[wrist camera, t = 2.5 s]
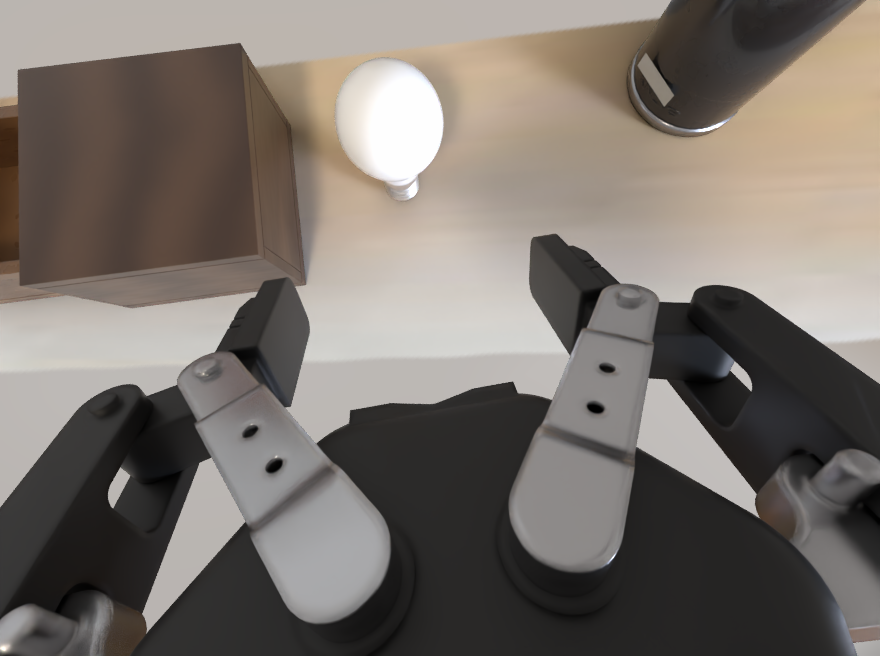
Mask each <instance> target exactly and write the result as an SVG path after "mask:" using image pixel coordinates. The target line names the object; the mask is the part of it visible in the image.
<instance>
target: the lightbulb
mask: <svg viewBox="0 0 880 656" xmlns="http://www.w3.org/2000/svg"><path fill="white" fill-rule="evenodd" d="M334 118H335V127H336V132H337V136H338V139H339V142H340V144H341V146H342V148H343V150H344V152H345V154H346V155H347V156H348V158H349V159H350V160H351V162H352V163H353V164H354V165H355V166H356V167H357V168H358V169H360V170H361V171H362V172H364V173H365V174H367V175H369V176H371V177H373V178H375V179H378V180H382V181H383V182H384V185H385V188H386V191H387V193H388V194H389V196H390V197H392V198H393V199H395V200H398V201H406V200H409V199H411V198H412V197H414V196H415V195H416V193H417V191H418V189H419V179H418V174H419V173H421V172H422V171H423V170H424V169H425V168H426V167H427V166H428V165H429V164H430V163H431V162H432V160H433V159H434V157H435V155H436V153H437V151H438V149H439V147H440V144H441V140H442V135H443V112H442V107H441V104H440V100H439V98H438V95H437V93H436V91H435V89H434V87H433V86H432V84H431V83H430V81H429V80H428V79H427V78H426V76H425V75H424V74H423V73H422V72H421V71H419V70H418V69H417V68H416V67H414V66H413V65H411V64H409V63H407V62H405V61H403V60H400V59H396V58H389V57H381V58H375V59H371V60H368V61H366V62H364V63H362V64H360V65H359V66H357V67H356V68H355V69H354V70H353V71H351V73H350V74H349V75H348V76H347V77H346V79H345V80H344V82H343V83H342V85H341V87H340V89H339V92H338V95H337V98H336V103H335V112H334Z"/></svg>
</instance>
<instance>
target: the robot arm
mask: <svg viewBox="0 0 880 656" xmlns="http://www.w3.org/2000/svg"><path fill="white" fill-rule="evenodd" d="M865 1H866V0H672V1H671V2H670V4H669V5H668V7H667V9H666V10H665V11H664V13H663V14H662V16H661V18H660V19H659V21H658V22H657V24H656V26H655V27H654V29H653V30H652V32H651V34H650V35H649V37H648V38H647V40H646V41H645V42H644V43H643V44H642V46H641V47H640V49H639V50H638V52H637V53H636V55H635V57H634V58H633V60H632V62H631V65H630V67H629V71H628V79H627V83H628V91H629V95H630V98H631V101H632V103H633V105H634V107H635V108H636V110H637V111H638V113H639V114H640V115H641V116H642V117H643V118H644V119H645V120H646V121H647V122H648V123H649V124H651V125H652V126H653V127H655V128H657V129H659V130H661V131H663V132H665V133H668V134H671V135H675V136H681V137H696V136H701V135H705V134H708V133H711V132H713V131H715V130H717V129H718V128H720V127H721V126H723V125H724V124H725V123H726V122H727V121H728V120H730V119H731V118H732V117H733V116H734V115H735V114H736V113H737V112H738V110H739V109H740V108H742V107H743V106H744V105H745V104H746V103H747V102H749V101H750V100H751V99H752V98H753V97H754V96H755V95H757V94H758V93H759V92H760V91H761V90H763V89H764V88H765V87H766V86H767V85H769V84H770V83H771V82H772V81H773V80H774V79H776V78H777V77H778V76H779V75H780V74H781V73H782V72H784V71H785V70H786V69H787V68H788V67H789V66H791V65H792V64H793V63H794V62H795V61H796V60H798V59H799V58H800V57H801V56H802V55H803V54H804V53H806V52H807V51H808V50H809V49H810V48H811V47H813V46H814V45H815V44H816V43H817V42H818V41H820V40H821V39H822V38H823V37H824V36H825V35H826V34H828V33H829V32H830V31H831V30H832V29H833V28H835V27H836V26H837V25H838V24H839V23H840V22H841V21H843V20H844V19H845V18H846V17H847V16H848V15H850V14H851V13H852V12H853V11H854V10H855V9H857V8H858V7H859V6H860V5H861V4H862V3H863V2H865ZM529 284H530V290H531V293H532V296H533V298H534V299H535V301H536V302H537V304H538V306H539V307H540V309H541V310H542V312H543V314H544V315H545V317H546V318H547V320H548V321H549V323H550V325H551V326H552V328H553V329H554V331H555V333H556V334H557V336H558V337H559V339H560V340H561V342H562V344H563V345H564V347H565V348H566V350H567V352H568V353H569V355H570V358H569V361H568V363H567V366H566V368H565V371H564V373H563V375H562V378H561V380H560V383H559V385H558V387H557V390H556V392H555V395H554V397H553V400H550V399H547V398H544V397H540V396H536V395H530V394H519V393H517V390H516V388H515V385H514V383H513V382H508V383H502V384H496V385H491V386H485V387H480V388H474V389H471V390H469V391H466V392H464V393H461V394H459V395H456V396H454V397H451V398H449V399H446V400H444V401H441V402H439V403H436V404H397V403H389V404H384V405H378V406H373V407H367V408H362V409H356V410H350V421H349V424H347V425H345V426H343V427H341V428H339V429H337V430H335V431H333V432H332V433H330V434H328V435H327V436H325V437H324V438H323V439H322V440H320V441H319V442H318V443H317V444H316V443H315V442H314V441H313V440H312V439H311V437H310V436H309V435H308V434H307V433H306V432H305V430H304V429H303V428H302V427H301V426H300V425H299V424H298V422H297V421H296V420H295V419H294V418H293V417H292V415H291V414H290V413H289V412H288V411H287V410H286V409H285V407H290V406H291V404H292V400H293V396H294V392H295V388H296V384H297V380H298V376H299V372H300V369H301V365H302V361H303V357H304V353H305V349H306V345H307V341H308V337H309V333H310V327H309V321H308V317H307V315H306V312H305V310H304V307H303V305H302V303H301V300H300V298H299V295H298V293H297V291H296V288H295V286H294V283H293V282H292V280H291V279H290V278H289V277H285V278H279V279H273V280H266V281H264V282H263V284H262V285H261V287H260V289H259V291H258V293H257V295H256V297H255V298H251V299H250V300H248V301H247V302H246V303H245V304H244V305H243V306H242V307H240V308H239V310H238V312H237V314H236V316H235V317H234V320H233V321H232V323H231V325H230V326H229V327H230V329H228V330H227V332H226V334H225V335H224V337H223V339H222V341H221V342H220V344H219V346H218V348H217V350H216V351H215V353H211V354H208V355H205V356H203V357H201V358H199V359H197V360H195V361H194V362H192V363H191V364H189V365H188V366H187V367H186V368H185V369H184V370H183V371H182V372H181V373H180V375H179V377H178V379H177V385H176V386H173V387H170V388H168V389H165V390H163V391H160V392H157V393H154V394H152V395H149V396H146V395H145V394H144V393H143V391H142V390H141V389H140V388H139V387H138V386H136V385H131V384H126V385H120V386H116V387H113V388H110V389H108V390H106V391H103V392H102V393H100V394H98V395H96V396H94V397H93V398H91V399H90V400H88V401H87V402H86V403H84V404H83V405H82V406H81V407H80V408H79V409H78V410H77V411H76V412H75V413H74V415H73V416H72V417H71V419H70V420H69V421H68V422H67V424H66V425H65V426H64V427H63V429H62V430H61V431H60V432H59V434H58V435H57V436H56V438H55V439H54V440H53V441H52V443H51V444H50V445H49V446H48V448H47V449H46V450H45V451H44V453H43V454H42V455H41V457H40V458H39V459H38V460H37V462H36V463H35V464H34V466H33V467H32V468H31V469H30V471H29V472H28V473H27V474H26V476H25V477H24V478H23V480H22V481H21V482H20V483H19V485H18V486H17V487H16V488H15V490H14V491H13V492H12V494H11V495H10V496H9V497H8V498H7V500H6V501H5V502H4V504H3V505H2V506H1V507H0V656H857V653H856V651H855V648H854V644H853V643H856V642H864V641H872V640H880V384H879V383H877V382H876V381H874V380H873V379H872V378H870V377H869V376H867V375H866V374H865V373H863V372H862V371H860V370H859V369H857V368H856V367H855V366H853V365H852V364H850V363H849V362H847V361H846V360H845V359H843V358H842V357H840V356H839V355H838V354H836V353H835V352H833V351H832V350H831V349H829V348H828V347H826V346H825V345H823V344H822V343H821V342H819V341H818V340H816V339H815V338H814V337H812V336H811V335H809V334H808V333H806V332H805V331H804V330H802V329H801V328H799V327H798V326H796V325H795V324H794V323H792V322H791V321H789V320H788V319H787V318H785V317H784V316H782V315H781V314H779V313H778V312H777V311H775V310H774V309H772V308H771V307H770V306H768V305H767V304H765V303H764V302H762V301H761V300H760V299H758V298H757V297H755V296H754V295H752V294H750V293H748V292H746V291H744V290H741V289H738V288H734V287H730V286H723V285H709V286H704V287H701V288H699V289H697V290H696V291H695V292H694V294H693V297H692V300H691V302H690V303H673V302H659V298H658V297H657V295H656V294H655V293H654V292H652V291H651V290H649V289H647V288H644V287H641V286H638V285H633V284H620V283H619V282H618V281H617V280H616V279H615V278H614V277H613V276H612V275H611V274H610V273H609V272H608V271H607V270H605V269H604V268H603V267H601V265H600V264H599V263H598V262H597V261H595V260H594V258H593V257H592V256H591V255H590V254H589V253H588V252H587V251H585V250H582V249H580V248H578V247H575V246H568V245H567V244H566V243H565V242H564V241H563V240H562V239H561V238H560V237H559V236H558V235H557V234H551V235H545V236H538V237H533V238H532V240H531V247H530V271H529ZM734 361H735V362H736V363H738V364H739V365H740V366H741V367H742V368H743V369H744V370H745V371H746V372H747V374H748V375H749V377H750V379H751V382H752V392H751V391H750V390H749V389H748V388H747V387H746V386H745V385H744V384H743V383H742V382H741V381H740V380H739V379H738V378H737V377H736V376H735V375H734V374H733V373H732V372H731V371H730V369H731V367H732V365H733V363H734ZM648 378H653V379H667V380H668V382H669V383H670V385H671V386H672V387H673V388H674V390H675V391H676V392H677V393H678V395H679V396H680V397H681V399H682V400H683V401H684V402H685V404H686V405H687V406H688V407H689V408H690V410H691V411H692V412H693V414H694V415H695V416H696V418H697V419H698V420H699V421H700V423H701V424H702V425H703V426H704V428H705V429H706V430H707V431H708V433H709V434H710V435H711V437H712V438H713V439H714V440H715V442H716V443H717V444H718V445H719V447H720V448H721V449H722V450H723V452H724V453H725V454H726V456H727V457H728V458H729V459H730V461H731V462H732V463H733V465H734V466H735V467H736V468H737V469H738V471H739V472H740V473H741V475H742V476H743V477H744V478H745V480H746V481H747V482H748V484H749V485H750V486H751V487H752V489H753V490H754V491H755V492H756V494H757V495H756V498H755V506H756V510H757V513H758V515H759V517H760V518H758V517H756V516H755V515H753V514H752V513H750V512H748V511H747V510H745V509H743V508H741V507H740V506H738V505H736V504H734V503H733V502H731V501H729V500H728V499H726V498H724V497H722V496H720V495H719V494H717V493H715V492H713V491H712V490H710V489H708V488H707V487H705V486H703V485H701V484H700V483H698V482H696V481H695V480H693V479H691V478H689V477H688V476H686V475H684V474H682V473H681V472H679V471H677V470H675V469H674V468H672V467H670V466H669V465H667V464H665V463H663V462H662V461H660V460H658V459H656V458H654V457H653V456H651V455H649V454H648V453H646V452H644V451H642V450H641V449H639V448H637V447H636V444H637V439H638V434H639V428H640V422H641V417H642V411H643V405H644V400H645V394H646V389H647V383H648ZM211 457H212V459H213V461H214V463H215V465H216V467H217V468H218V470H219V472H220V474H221V476H222V477H223V480H224V482H225V483H226V485H227V487H228V489H229V491H230V493H231V495H232V497H233V498H234V500H235V502H236V504H237V506H238V508H239V510H240V512H241V513H242V515H243V517H244V519H245V521H246V522H245V523H244V524H243V525H242V526H241V527H240V529H239V530H238V531H237V532H236V533H235V534H234V535H233V536H232V538H231V539H230V540H229V541H228V542H227V543H226V544H225V546H224V547H223V548H222V549H221V550H220V551H219V552H218V553H217V555H216V556H215V557H214V558H213V559H212V560H211V561H210V562H209V564H208V565H207V566H206V567H205V568H204V569H203V570H202V571H201V573H200V574H199V575H198V576H197V577H196V578H195V579H194V581H193V582H192V583H191V584H190V585H189V586H188V587H187V588H186V590H185V591H184V592H183V593H182V594H181V595H180V596H179V597H178V599H177V600H176V601H175V602H174V603H173V604H172V605H171V606H170V608H169V609H168V610H167V611H166V612H165V613H164V614H163V615H162V617H161V618H160V619H159V620H158V621H157V622H156V623H155V624H154V626H153V627H152V628H151V629H150V630H149V631H148V633H147V634H146V631H147V627H146V621H145V618H144V617H143V615H142V613H143V610H144V607H145V605H146V602H147V599H148V597H149V594H150V592H151V589H152V586H153V584H154V581H155V579H156V576H157V573H158V571H159V568H160V565H161V563H162V560H163V557H164V555H165V552H166V550H167V547H168V544H169V542H170V539H171V537H172V534H173V531H174V529H175V526H176V523H177V521H178V518H179V516H180V513H181V510H182V508H183V505H184V502H185V500H186V497H187V494H188V492H189V489H190V487H191V484H192V481H193V479H194V476H195V473H196V471H197V468H198V465H199V463H200V462H202V461H204V460H207V459H209V458H211ZM120 467H121V468H122V469H123V470H125V471H126V472H127V473H128V474H129V475H130V478H129V480H128V482H127V484H126V486H125V488H124V489H123V491H122V493H121V495H120V497H119V499H118V500H117V502H116V504H115V506H114V508H112V507H111V506H110V504H109V501H108V490H109V487H110V484H111V482H112V481H113V479H114V477H115V476H116V474H117V472H118V470H119V468H120Z"/></svg>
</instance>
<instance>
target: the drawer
mask: <svg viewBox="0 0 880 656" xmlns="http://www.w3.org/2000/svg"><path fill="white" fill-rule="evenodd" d="M56 296H64V294H59V293H54V292H49V291H44V290H39V289H33V288H28V287H23V286H20V285H19V167H18V105H14V106H6V107H0V304H3V303H11V302H18V301H26V300H33V299H41V298H48V297H56Z"/></svg>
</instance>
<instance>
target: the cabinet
mask: <svg viewBox="0 0 880 656" xmlns="http://www.w3.org/2000/svg"><path fill="white" fill-rule="evenodd" d="M18 167H19V285H20V286H23V287H28V288H33V289H39V290H44V291H49V292H54V293H59V294H64V295H69V296H74V297H79V298H84V299H89V300H94V301H99V302H104V303H109V304H114V305H119V306H123V307H128V308H136V307H144V306H151V305H159V304H166V303H174V302H181V301H189V300H196V299H204V298H211V297H219V296H226V295H233V294H241V293H248V292H256V291H259V289H260V287H261V285H262V284H263V282H264V281H266V280H273V279H279V278H285V277H289V278H290V279H291V280H292V282H293V283H294V286H301V285H306V281H305V271H304V261H303V251H302V241H301V230H300V220H299V210H298V200H297V190H296V180H295V170H294V159H293V149H292V139H291V129H290V124H289V122H288V121H287V119H286V118H285V116H284V114H283V113H282V111H281V110H280V108H279V106H278V105H277V103H276V101H275V100H274V98H273V96H272V95H271V93H270V92H269V90H268V88H267V87H266V85H265V83H264V82H263V80H262V78H261V77H260V75H259V73H258V72H257V70H256V69H255V67H254V65H253V64H252V62H251V60H250V59H249V57H248V55H247V53H246V52H245V50H244V49H243V47H242V45H241V44H240V43H237V44H229V45H221V46H212V47H204V48H195V49H187V50H179V51H171V52H162V53H154V54H146V55H137V56H130V57H121V58H113V59H104V60H96V61H88V62H79V63H71V64H63V65H54V66H46V67H38V68H30V69H21V70H18Z"/></svg>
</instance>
